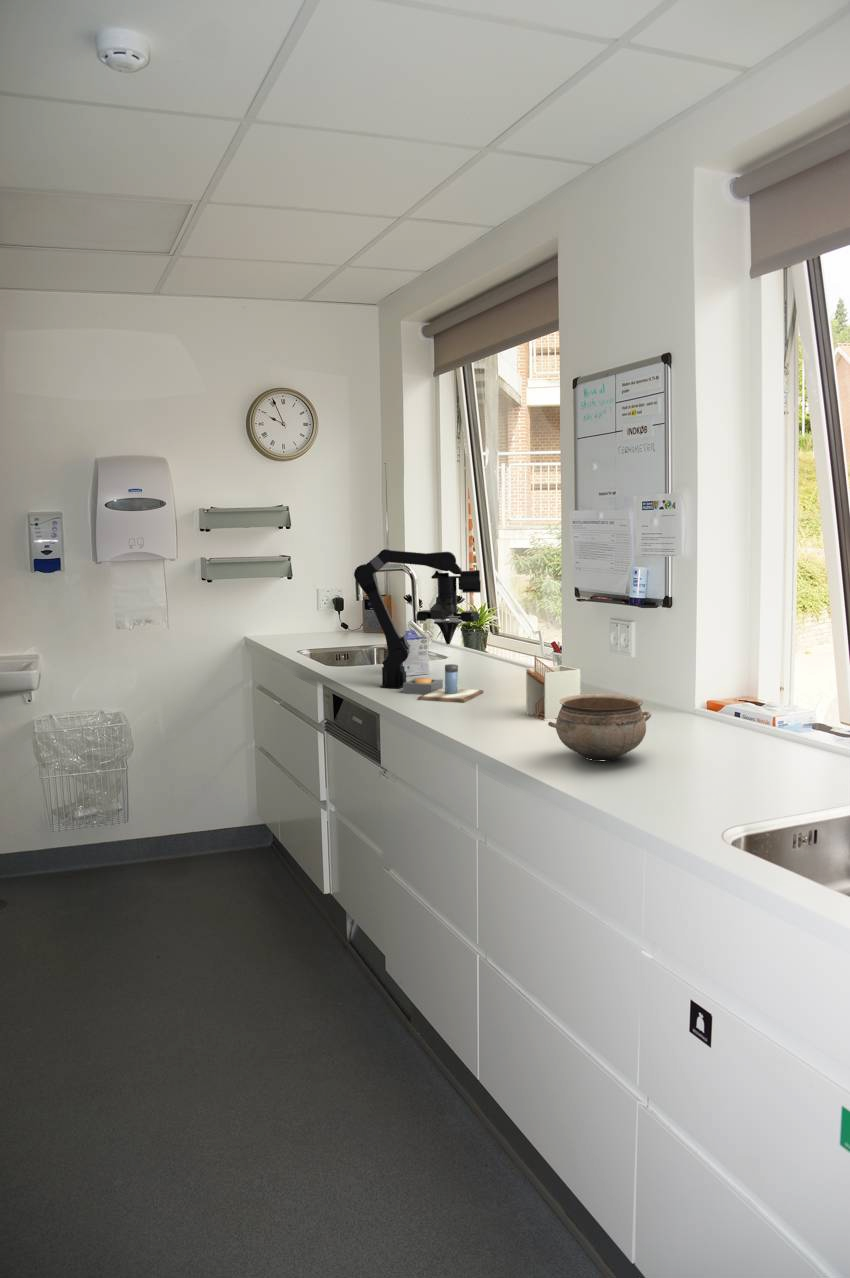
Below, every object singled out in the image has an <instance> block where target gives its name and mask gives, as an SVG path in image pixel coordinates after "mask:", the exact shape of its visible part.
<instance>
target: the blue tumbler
mask: <svg viewBox="0 0 850 1278" xmlns="http://www.w3.org/2000/svg"><path fill="white" fill-rule="evenodd" d="M458 673H459V666H458V664H450V663H449V664H445V665H444V688H445V693H446V694H456V693H457V689H458V680H459V679H458V676H459V675H458Z"/></svg>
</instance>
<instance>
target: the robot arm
mask: <svg viewBox="0 0 850 1278" xmlns="http://www.w3.org/2000/svg"><path fill="white" fill-rule="evenodd" d="M388 563H392V564H393V563H394V564H403V565H404V564H405V565H413V566H417V565H418V566H424V567H429V568H432V569H436V570H435V571H434V573H433V575H432V576H431V577H430V578H431V579H437V596H436V597H435V604H433V605H432V606H431V608H430V609H429V610H428V609H423V610H420V611H419V610H418V611H417V612H416V615H415V616H416V617H415V618H416V619H415V620H416V621H418V622H422V621H423V622H425V621H427V620H434V622H433V624H435V625H437V626H438V627H439V629H440V631H441V633H442V637H443V638H444V641H445V644H446V645H451V643H452V639H453V637H454V635H455V631H456V630H457V628H458V626H459V624H462V623H463V622H464V623H469V622H470V623H473V622H476V621H480V614H479V613H480V612H478V611H476V610H465V611H462V612H459V609H458V602H457V601H458V600H459V595H458V594H457V589H458V590H460V591H462V592H461V593H463V594H464V593H465V594H468V593H471V594H472V593H478V594H479V593H481V592H482V591H481V590H482V589H481V587H482V586H481V573H480V572H481V571H480V569H477V570H476V569H475V570H462V568H461V567H460V566H459V565H458V563H457V557H456V555H454V554H453V552H450V551H438V552H437V551H436V552H428V553H427V552H426V553H425V552H414V551H406V550H405V551H404V550H403V551H402V550H391V549H389V548H385V549H383V550H381V551H380V552H379V553H378V554H376V556H374V557H373V558H372V559H371V560H369V561H368V562H367V563H364V564H360V565H358V566H357V567H356V568H355V569H354V573H353V577H354V579H355V581H356V582H357V584H358V586H359V587H360V588H361V589H362V590H363V593H365V595H366V597H367V598H368V600H369V602H370V605H371V607H372V609H373V612H374V614H375V616H376V619H377V620H378V623H379V625H380V627H381V630H382V632H383V634H384V636H385V642H386V648H387V651H388V655H387V656H386V657H385V658H384V659H383V661H382V667H381V673H382V675H381V677H382V678H381V679H382V684H381V685H379V686H380V688H387V689H388V688H389V689H401V688H403V683H405V682H407V676H406V671H405V666H401V665H402V663H403V662H404V661H405V660H406V659H407V658H408V656H409V653H410V650H409V648H410V645H409V644H408V642H407V639H406V634H403V635H401V634H400V633H399V631H398V630H397V628H396V625H395V624H394V622H393V619H392V616H391V614H390V612H389V609H388V607H387V605H386V603H385V601H384V599H383V598H384V597H383V596H382V593H381V592H380V587H379V582H378V578H377V572H378V571H379V570H381V569H382V568H383V567H384V566H385V565H386V564H388ZM438 570H439V571H443V572H439V571H438ZM449 572H450V573H452V574H453V575H450V573H449ZM457 579H458V588H457Z"/></svg>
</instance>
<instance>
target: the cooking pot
mask: <svg viewBox="0 0 850 1278" xmlns="http://www.w3.org/2000/svg"><path fill="white" fill-rule="evenodd" d="M559 702H560V704H562V707H561V709H560V712H559V714H558V717H557V719H556V721H555V722H553V721H549V722H548V723H547V724H548V725H547V726H548V727H551V728H555V731H556V734H557V736H558V738H559V740H560V742H562V744H563V745H565V746H566V748H568V749H570V750H571V751H572V752H574V753H575V754H577V755H580V756H581V757H583V758H584V757H585V758H584V759H586V758H588V759H592V760H612V761H614V760H613V759H615V760H616V758H617V759H618V758H620V757H622V756H624V755H626V754H627V753H629V752H631V751H633V750H635V748H638V746H639V745H640V744H641V743H642V742H643V739H644V738H645V736H646V732H647V723H646V722H648V721H649V719H650V718H651V717H652V712H650V711H648V710H647V711H646V710H645V711H643V710H642V708H641V706H642V705H643V704H644V702H643V700H642V699H640V698H638V697H634V696H627V695H620V694H611V693H610V694H608V693H594V694H593V693H590V694H589V693H587V694H580V695H574V696H568V697H565V698H562V699H560V701H559ZM588 759H587V760H588ZM592 760H591V761H592Z"/></svg>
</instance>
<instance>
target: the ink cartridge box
mask: <svg viewBox="0 0 850 1278" xmlns="http://www.w3.org/2000/svg"><path fill="white" fill-rule="evenodd" d="M410 633H411V634H410ZM405 636H406V639H407V642H408V644H409V645H410V648H409V650H410V653H409V656H408V658H407V659H406V660H405V661H404V662H403V663H402V665H401V666H405V671H406V677H410V676H420V675H421V676H422V675H429V674H430V666H429V661H430V660H429V638H428V637H425V636H418V635H417V633H416V630H405Z"/></svg>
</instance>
